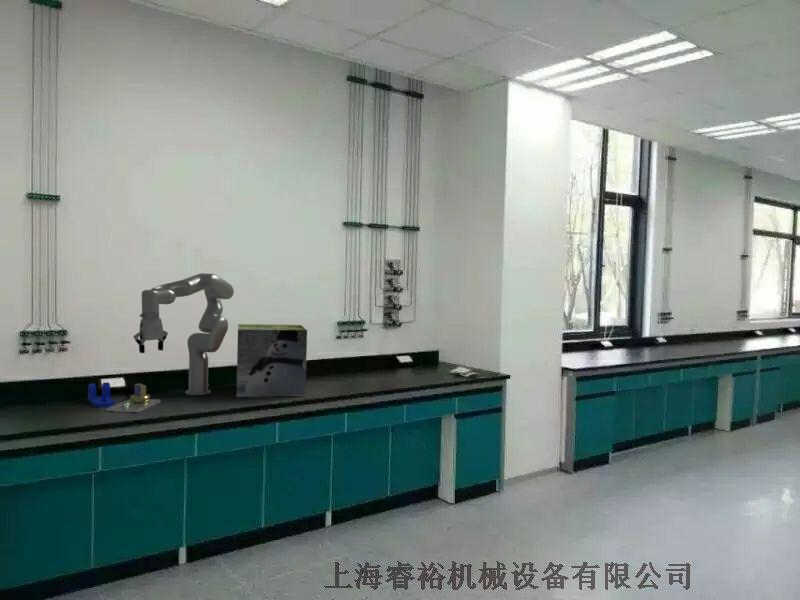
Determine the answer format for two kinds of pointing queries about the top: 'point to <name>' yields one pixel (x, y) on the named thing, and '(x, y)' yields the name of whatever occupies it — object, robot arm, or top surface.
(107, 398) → the bracket
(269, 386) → the photo cube
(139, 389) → the footscrew knob
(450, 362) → the top surface
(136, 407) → the plate
